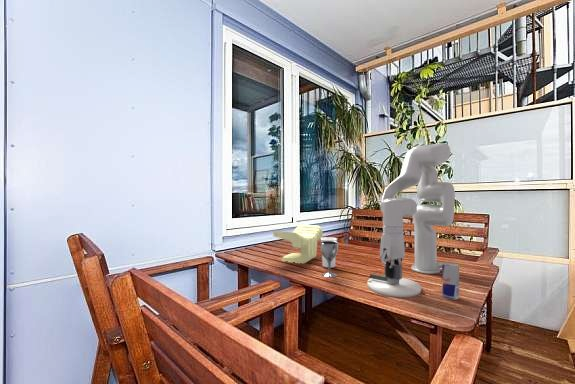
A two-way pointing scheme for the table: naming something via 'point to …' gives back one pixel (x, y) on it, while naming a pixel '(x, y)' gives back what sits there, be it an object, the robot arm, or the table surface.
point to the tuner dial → (395, 288)
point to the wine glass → (329, 254)
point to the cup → (323, 256)
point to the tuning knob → (390, 280)
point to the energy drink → (450, 281)
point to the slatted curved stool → (302, 242)
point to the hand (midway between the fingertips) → (393, 275)
